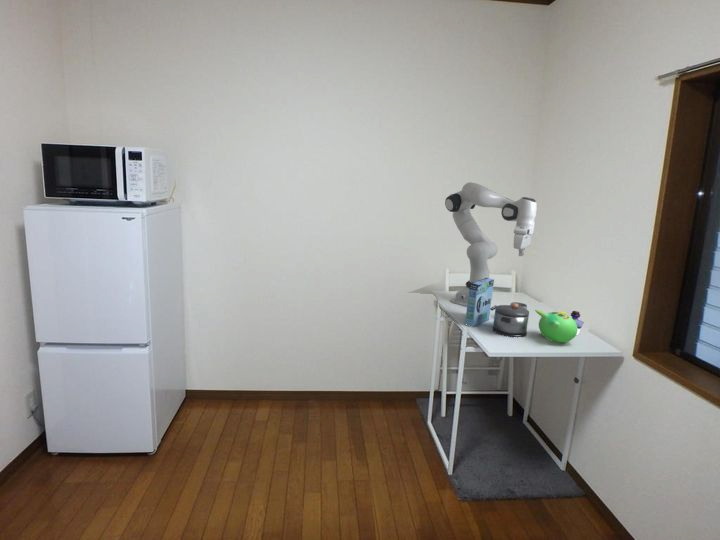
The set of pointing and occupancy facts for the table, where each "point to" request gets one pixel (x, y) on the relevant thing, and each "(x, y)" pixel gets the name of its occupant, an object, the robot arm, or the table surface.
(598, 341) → the table surface
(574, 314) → the potion bottle
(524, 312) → the lid
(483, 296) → the gum box
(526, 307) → the cup
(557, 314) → the toy bird
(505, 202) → the robot arm
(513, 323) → the cooker pot
